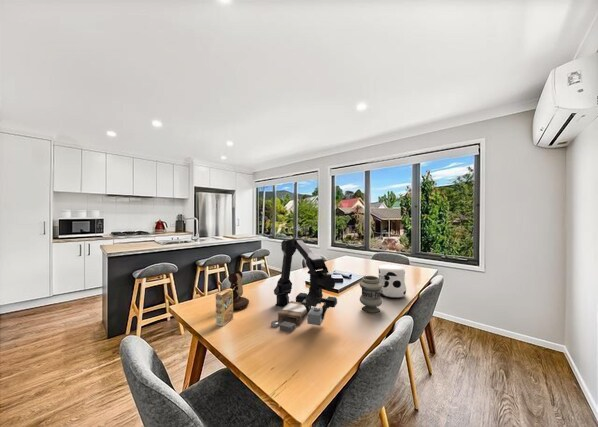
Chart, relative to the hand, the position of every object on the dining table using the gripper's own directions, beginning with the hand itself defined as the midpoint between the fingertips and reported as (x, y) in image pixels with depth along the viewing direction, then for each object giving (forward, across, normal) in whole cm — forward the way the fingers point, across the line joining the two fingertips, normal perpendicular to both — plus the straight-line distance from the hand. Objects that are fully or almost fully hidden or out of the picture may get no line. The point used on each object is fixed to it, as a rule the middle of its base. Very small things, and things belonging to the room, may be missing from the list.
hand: (316, 317), depth 109 cm
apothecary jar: (+5, +22, +29) cm, 37 cm away
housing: (+1, 0, 0) cm, 1 cm away
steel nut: (+5, -19, -5) cm, 20 cm away
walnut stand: (+5, -14, +8) cm, 17 cm away
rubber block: (+5, -12, -6) cm, 14 cm away
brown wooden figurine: (+5, -51, +7) cm, 52 cm away
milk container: (+5, +32, +57) cm, 66 cm away
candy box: (+5, -44, -11) cm, 46 cm away
